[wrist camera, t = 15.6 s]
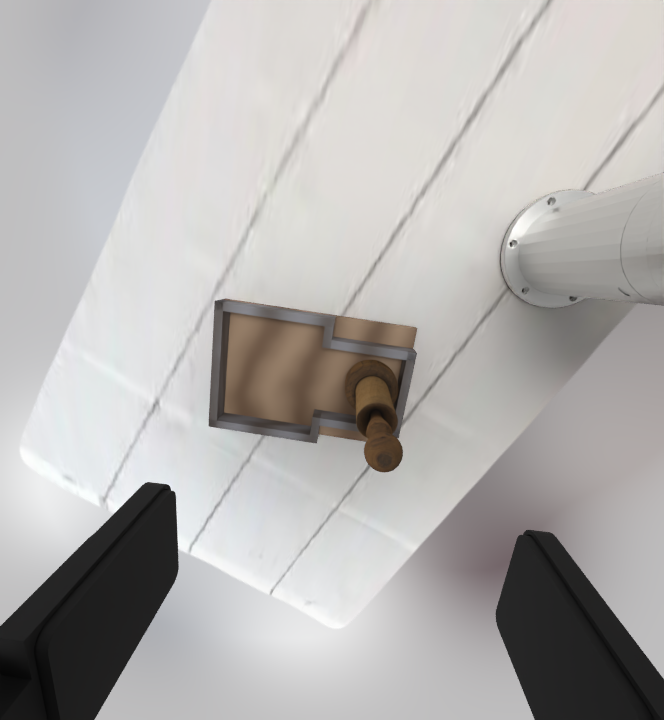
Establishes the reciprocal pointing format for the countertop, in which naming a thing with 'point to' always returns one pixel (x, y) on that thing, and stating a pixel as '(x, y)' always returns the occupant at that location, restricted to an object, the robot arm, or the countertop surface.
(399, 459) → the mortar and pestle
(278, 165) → the countertop surface
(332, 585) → the countertop surface
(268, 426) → the keyhole board
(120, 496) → the countertop surface
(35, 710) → the robot arm
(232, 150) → the countertop surface
